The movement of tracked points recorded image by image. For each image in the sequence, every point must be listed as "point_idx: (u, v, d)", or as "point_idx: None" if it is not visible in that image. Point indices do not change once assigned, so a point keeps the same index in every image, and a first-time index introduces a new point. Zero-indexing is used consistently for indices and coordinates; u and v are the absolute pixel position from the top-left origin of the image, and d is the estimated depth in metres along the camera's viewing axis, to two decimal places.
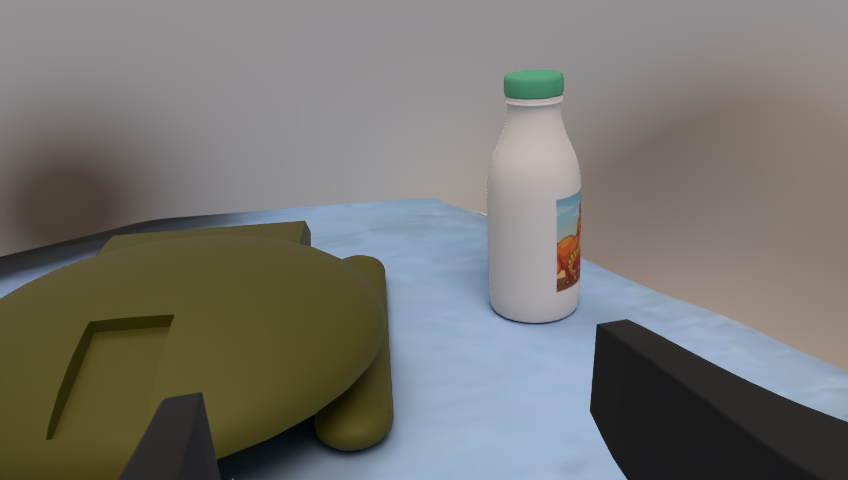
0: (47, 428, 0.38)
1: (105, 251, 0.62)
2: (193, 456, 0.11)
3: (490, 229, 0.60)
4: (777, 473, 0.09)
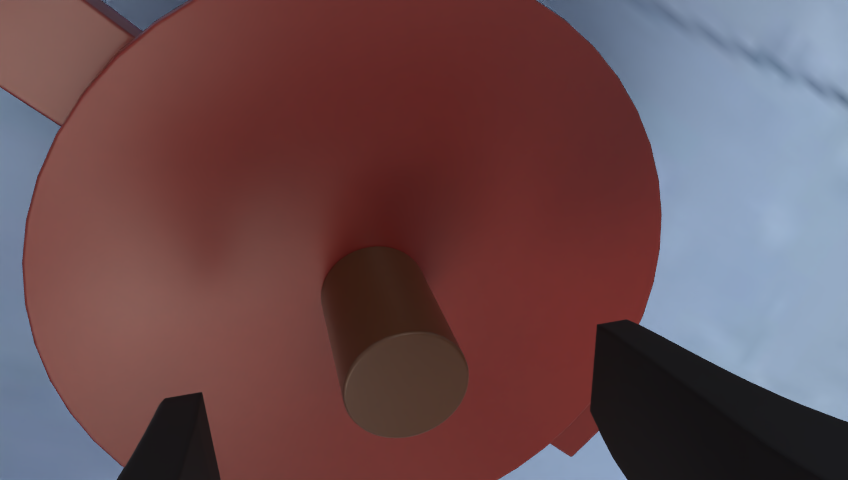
0: None
1: None
2: (193, 456, 0.11)
3: None
4: (777, 473, 0.09)
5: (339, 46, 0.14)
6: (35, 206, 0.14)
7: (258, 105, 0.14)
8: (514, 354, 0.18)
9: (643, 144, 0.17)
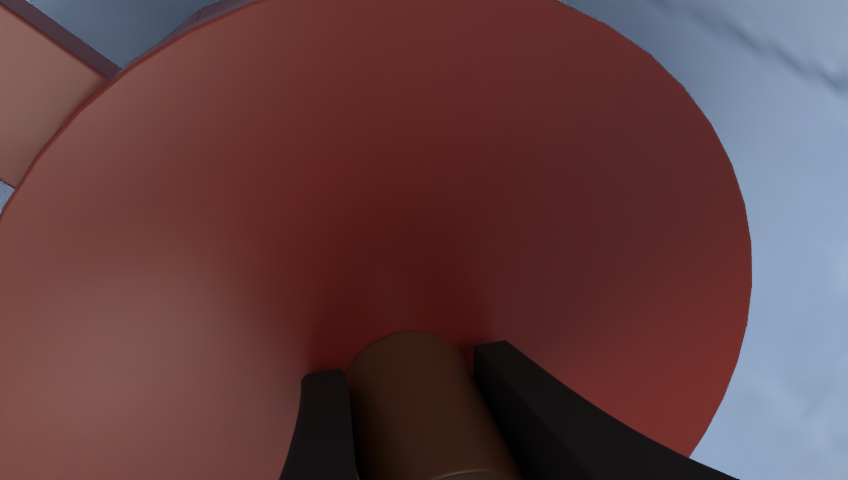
0: None
1: None
2: None
3: None
4: None
5: (368, 91, 0.11)
6: None
7: (264, 165, 0.11)
8: None
9: (736, 202, 0.14)
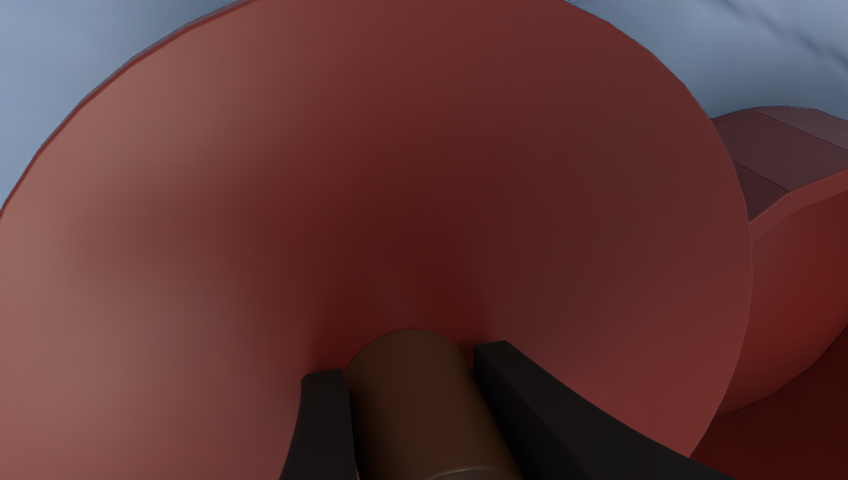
0: None
1: None
2: (351, 426, 0.11)
3: None
4: None
5: (368, 88, 0.11)
6: None
7: (264, 163, 0.11)
8: None
9: (736, 201, 0.14)
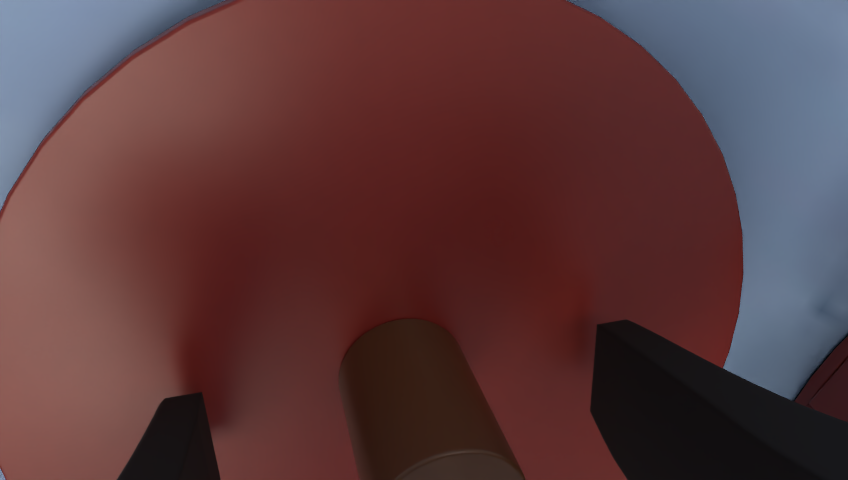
0: None
1: None
2: (193, 456, 0.11)
3: None
4: (778, 473, 0.09)
5: (365, 81, 0.11)
6: None
7: (263, 154, 0.11)
8: (565, 436, 0.16)
9: (727, 193, 0.14)
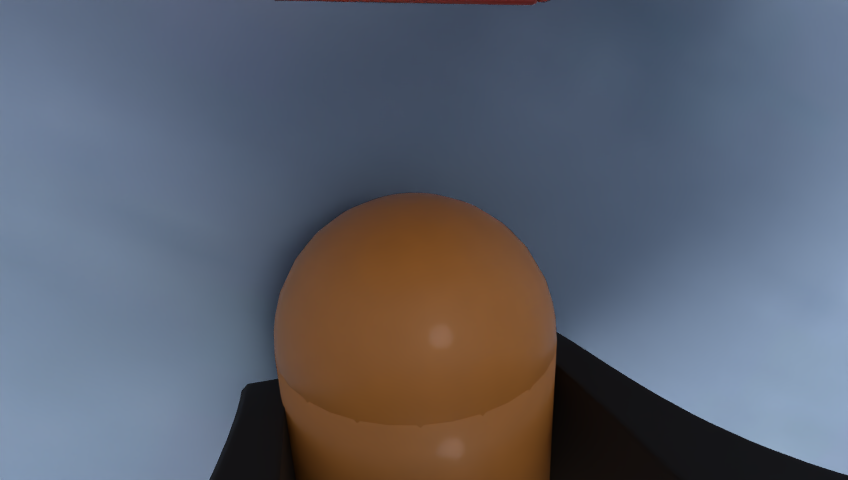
0: None
1: None
2: (285, 438, 0.11)
3: None
4: None
5: None
6: None
7: None
8: None
9: None
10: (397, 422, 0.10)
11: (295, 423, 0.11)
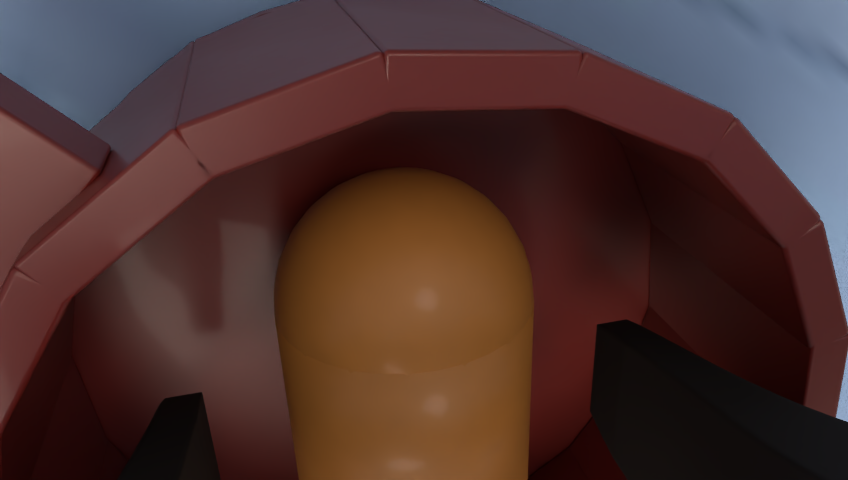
0: None
1: None
2: (193, 456, 0.11)
3: None
4: (777, 473, 0.09)
5: None
6: None
7: None
8: None
9: None
10: (387, 371, 0.11)
11: (294, 377, 0.12)
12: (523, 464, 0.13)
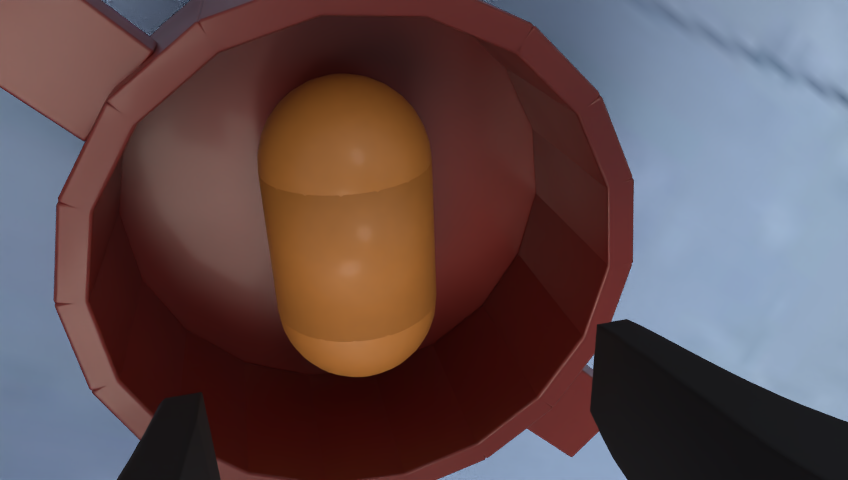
0: None
1: None
2: (193, 456, 0.11)
3: None
4: (778, 473, 0.09)
5: None
6: None
7: None
8: None
9: None
10: (327, 193, 0.17)
11: (270, 209, 0.18)
12: (428, 280, 0.19)
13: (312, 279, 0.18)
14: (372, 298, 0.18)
